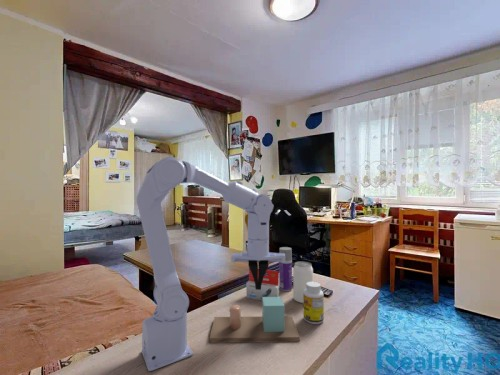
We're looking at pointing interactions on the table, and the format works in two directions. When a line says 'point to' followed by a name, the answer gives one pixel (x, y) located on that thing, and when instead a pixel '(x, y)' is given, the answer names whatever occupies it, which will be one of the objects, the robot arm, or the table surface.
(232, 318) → the round post
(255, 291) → the ink cartridge box
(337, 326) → the table surface
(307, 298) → the supplement bottle
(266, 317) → the teal rectangular block
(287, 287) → the container
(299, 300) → the can
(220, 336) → the board
